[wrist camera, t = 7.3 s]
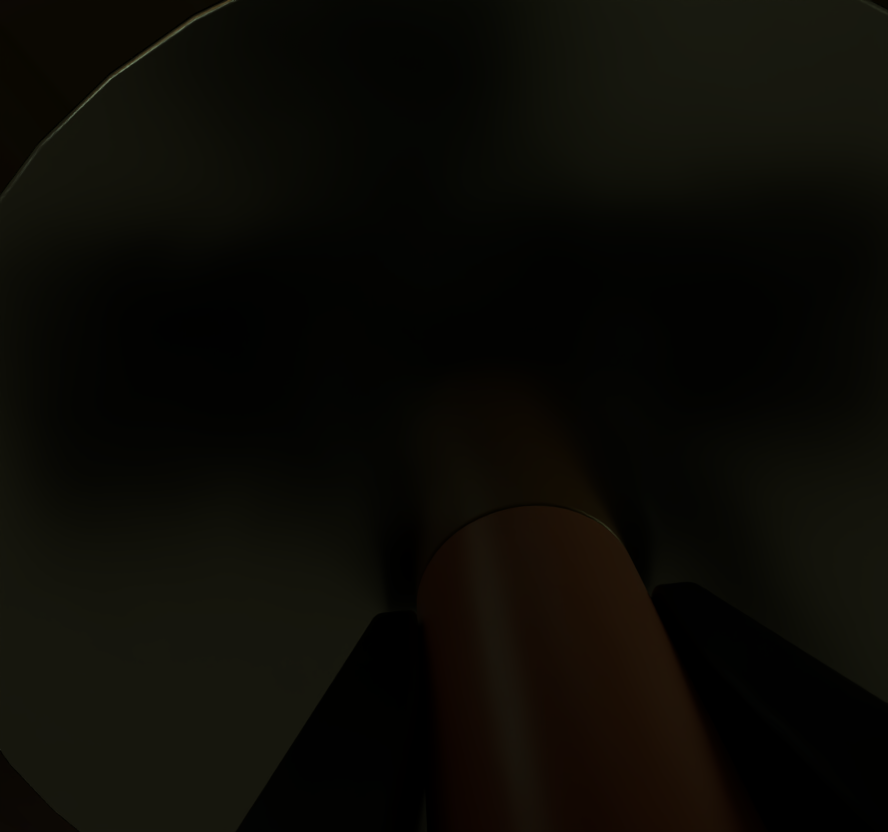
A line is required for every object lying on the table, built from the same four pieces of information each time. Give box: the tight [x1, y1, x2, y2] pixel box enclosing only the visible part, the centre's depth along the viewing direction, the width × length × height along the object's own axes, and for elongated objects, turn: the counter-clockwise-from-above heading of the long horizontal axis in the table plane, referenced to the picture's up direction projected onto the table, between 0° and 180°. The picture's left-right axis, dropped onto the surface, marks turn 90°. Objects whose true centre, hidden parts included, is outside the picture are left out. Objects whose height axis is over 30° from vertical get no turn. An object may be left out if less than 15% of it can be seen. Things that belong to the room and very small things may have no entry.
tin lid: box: [0, 0, 888, 832], centre depth 7 cm, size 13×13×5 cm
